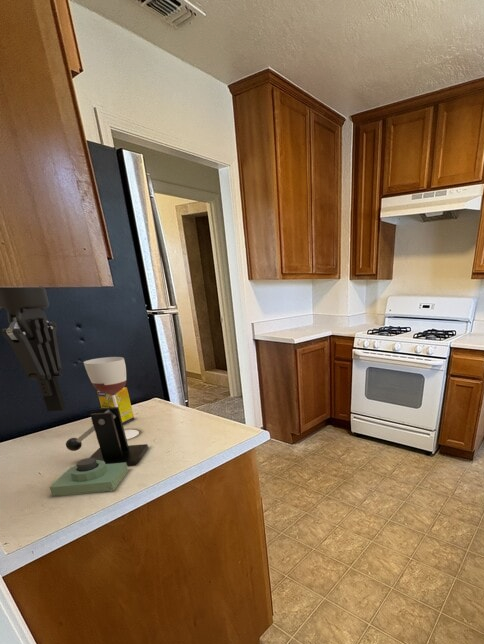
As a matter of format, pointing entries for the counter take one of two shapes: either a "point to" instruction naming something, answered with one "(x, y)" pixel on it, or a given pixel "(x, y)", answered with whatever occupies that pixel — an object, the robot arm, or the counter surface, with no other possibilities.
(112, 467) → the button box
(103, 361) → the wineglass
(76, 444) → the lever
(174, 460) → the counter surface
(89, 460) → the button
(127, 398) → the supplement box
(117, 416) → the bracket
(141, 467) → the counter surface
